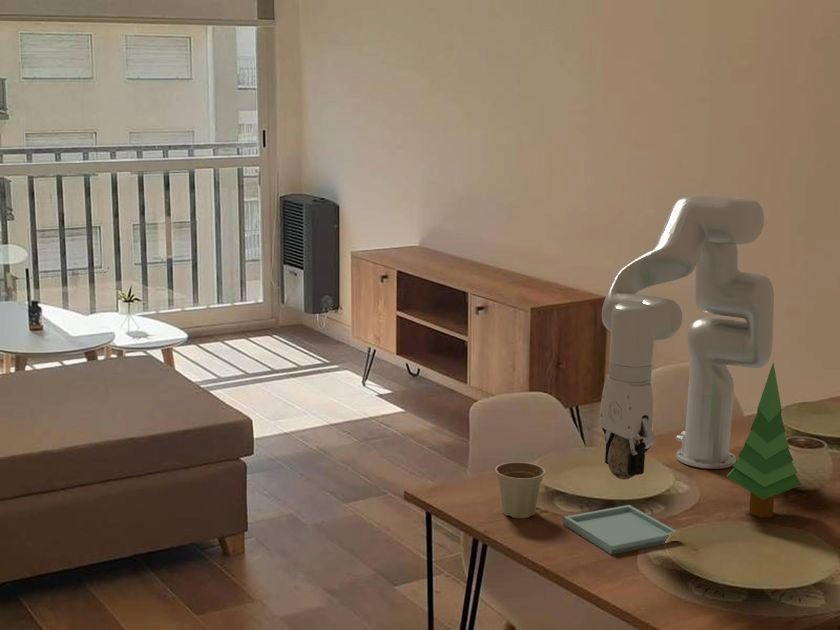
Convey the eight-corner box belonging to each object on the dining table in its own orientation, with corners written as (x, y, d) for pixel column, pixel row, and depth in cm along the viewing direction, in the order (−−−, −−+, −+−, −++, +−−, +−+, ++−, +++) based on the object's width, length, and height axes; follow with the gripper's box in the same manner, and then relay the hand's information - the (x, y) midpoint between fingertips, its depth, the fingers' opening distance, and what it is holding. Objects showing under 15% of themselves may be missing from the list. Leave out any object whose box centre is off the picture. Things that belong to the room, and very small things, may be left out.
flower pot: (510, 525, 218) (512, 481, 217) (484, 508, 227) (486, 465, 225) (552, 517, 223) (554, 474, 221) (526, 501, 231) (527, 459, 229)
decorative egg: (601, 479, 213) (604, 426, 211) (615, 470, 218) (618, 418, 216) (631, 486, 210) (635, 432, 208) (645, 477, 215) (648, 424, 213)
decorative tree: (707, 503, 232) (717, 355, 226) (778, 497, 236) (790, 351, 230) (742, 529, 219) (754, 372, 213) (816, 522, 223) (831, 368, 217)
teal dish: (563, 524, 219) (563, 516, 219) (628, 512, 226) (629, 504, 226) (611, 554, 206) (611, 546, 206) (679, 540, 213) (679, 532, 213)
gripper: (584, 363, 216) (579, 457, 219) (642, 386, 201) (636, 486, 204) (618, 359, 219) (612, 452, 223) (677, 381, 204) (671, 480, 208)
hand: (624, 467), depth 214 cm, fingers closed on decorative egg, 6 cm apart
